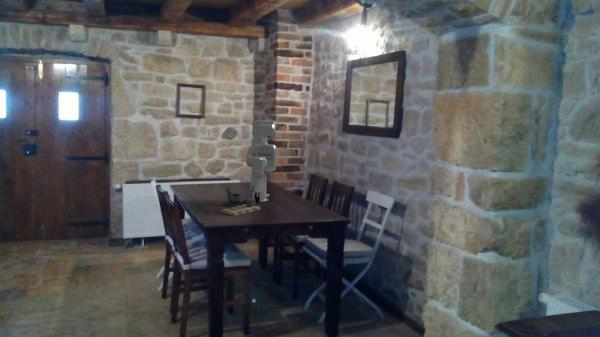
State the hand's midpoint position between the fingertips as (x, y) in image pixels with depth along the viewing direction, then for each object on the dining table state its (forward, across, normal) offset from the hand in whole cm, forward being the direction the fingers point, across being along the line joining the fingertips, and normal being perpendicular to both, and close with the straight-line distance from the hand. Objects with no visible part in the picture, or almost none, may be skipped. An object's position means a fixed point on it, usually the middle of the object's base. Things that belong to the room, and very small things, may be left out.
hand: (257, 202), depth 331 cm
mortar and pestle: (+4, +4, -18) cm, 19 cm away
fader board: (+4, +17, 0) cm, 17 cm away
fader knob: (+1, +7, 0) cm, 7 cm away
